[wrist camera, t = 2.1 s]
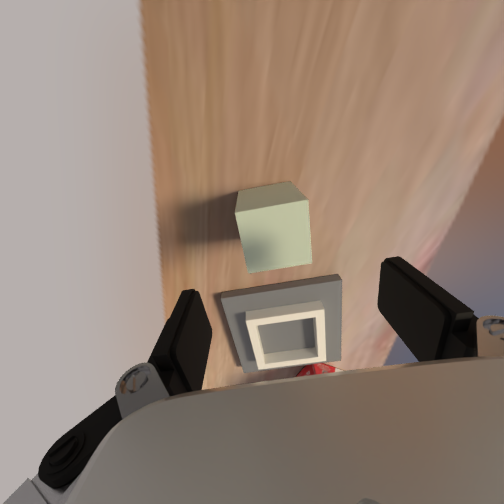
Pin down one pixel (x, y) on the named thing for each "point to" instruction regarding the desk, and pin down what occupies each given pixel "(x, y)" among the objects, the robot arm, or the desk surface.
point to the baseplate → (286, 323)
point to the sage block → (274, 227)
